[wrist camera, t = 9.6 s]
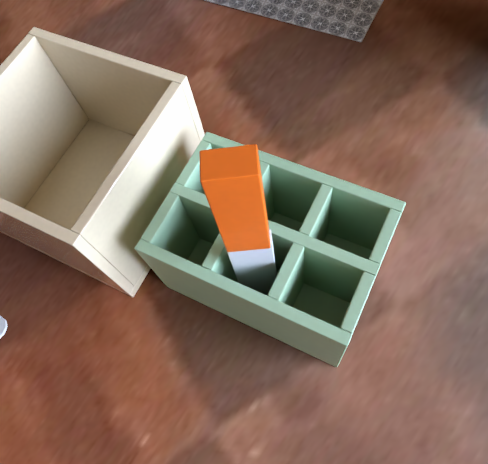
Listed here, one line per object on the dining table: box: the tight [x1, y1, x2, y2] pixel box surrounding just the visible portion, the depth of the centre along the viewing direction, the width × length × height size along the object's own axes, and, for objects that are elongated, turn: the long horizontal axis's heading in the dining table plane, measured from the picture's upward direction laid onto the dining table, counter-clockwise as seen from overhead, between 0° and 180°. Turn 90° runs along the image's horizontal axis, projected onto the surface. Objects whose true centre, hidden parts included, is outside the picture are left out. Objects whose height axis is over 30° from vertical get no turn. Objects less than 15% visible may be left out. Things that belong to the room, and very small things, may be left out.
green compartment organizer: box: [134, 132, 406, 367], centre depth 30 cm, size 9×13×7 cm
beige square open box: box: [0, 27, 205, 297], centre depth 32 cm, size 12×12×10 cm
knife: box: [199, 144, 277, 296], centre depth 24 cm, size 1×2×16 cm, turn 94°
